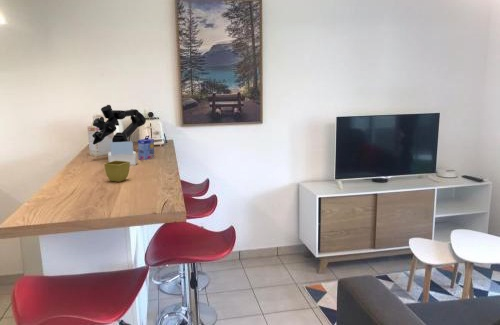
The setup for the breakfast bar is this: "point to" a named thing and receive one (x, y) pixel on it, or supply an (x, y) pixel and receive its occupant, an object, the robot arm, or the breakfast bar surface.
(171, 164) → the breakfast bar surface
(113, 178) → the flower pot
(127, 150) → the flap
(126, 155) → the carton
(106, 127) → the robot arm
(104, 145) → the coffeecake box
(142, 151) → the ink cartridge box
